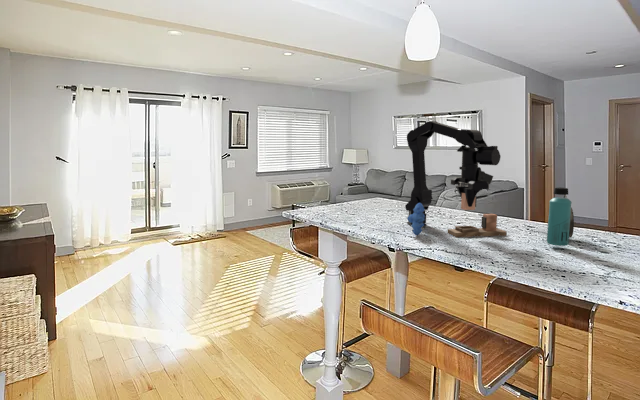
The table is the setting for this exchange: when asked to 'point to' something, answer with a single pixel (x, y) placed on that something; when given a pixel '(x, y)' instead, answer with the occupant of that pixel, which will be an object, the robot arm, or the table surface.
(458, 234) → the rail
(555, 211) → the beverage bottle
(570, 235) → the alarm clock
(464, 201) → the salmon and grey block
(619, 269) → the table surface
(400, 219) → the table surface
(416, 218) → the grapes
